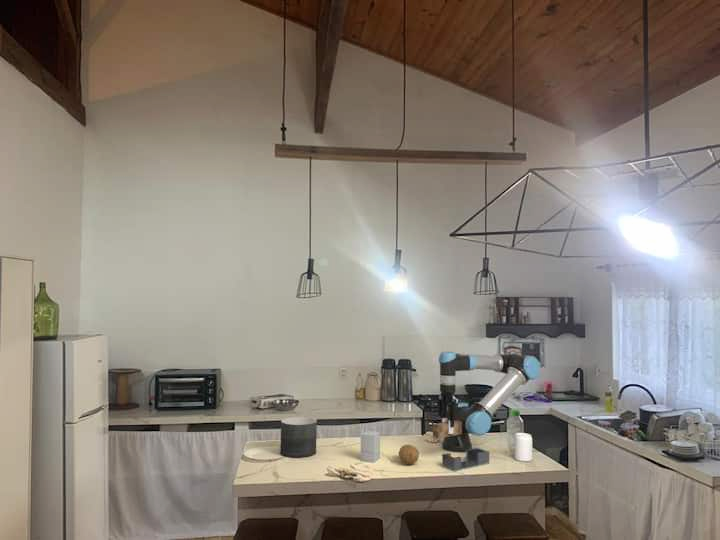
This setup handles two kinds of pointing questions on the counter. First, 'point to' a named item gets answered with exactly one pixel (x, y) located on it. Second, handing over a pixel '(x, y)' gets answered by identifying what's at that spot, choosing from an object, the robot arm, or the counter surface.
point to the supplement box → (370, 446)
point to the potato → (408, 454)
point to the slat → (446, 429)
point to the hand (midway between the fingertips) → (447, 432)
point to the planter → (298, 437)
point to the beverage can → (523, 447)
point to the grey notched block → (472, 460)
